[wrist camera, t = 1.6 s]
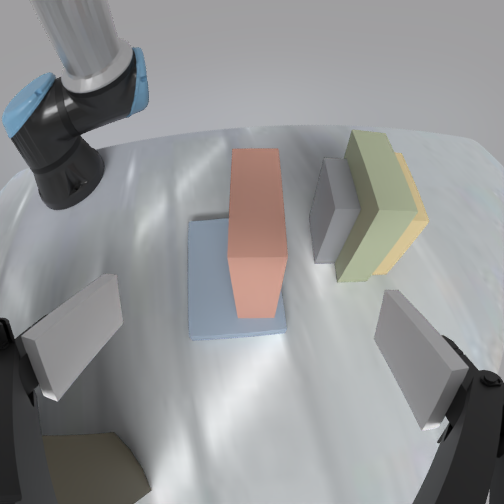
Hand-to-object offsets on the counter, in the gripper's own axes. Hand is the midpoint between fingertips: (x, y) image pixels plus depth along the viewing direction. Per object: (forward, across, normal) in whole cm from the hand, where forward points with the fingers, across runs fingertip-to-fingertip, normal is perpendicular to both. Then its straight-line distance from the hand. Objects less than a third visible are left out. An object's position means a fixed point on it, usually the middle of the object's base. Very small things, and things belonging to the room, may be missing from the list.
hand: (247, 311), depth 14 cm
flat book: (+26, -3, -8) cm, 28 cm away
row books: (+31, +15, -4) cm, 34 cm away
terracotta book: (+25, 0, -7) cm, 26 cm away
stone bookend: (+31, +9, -3) cm, 33 cm away
